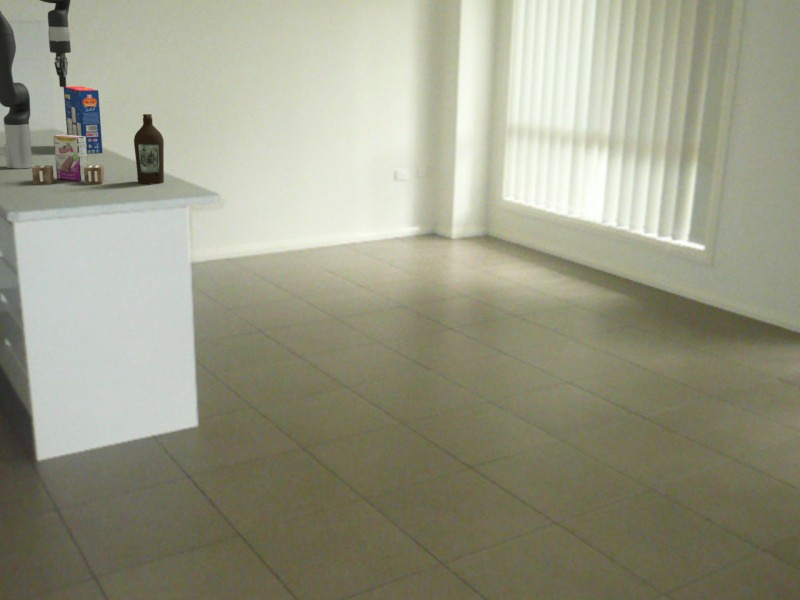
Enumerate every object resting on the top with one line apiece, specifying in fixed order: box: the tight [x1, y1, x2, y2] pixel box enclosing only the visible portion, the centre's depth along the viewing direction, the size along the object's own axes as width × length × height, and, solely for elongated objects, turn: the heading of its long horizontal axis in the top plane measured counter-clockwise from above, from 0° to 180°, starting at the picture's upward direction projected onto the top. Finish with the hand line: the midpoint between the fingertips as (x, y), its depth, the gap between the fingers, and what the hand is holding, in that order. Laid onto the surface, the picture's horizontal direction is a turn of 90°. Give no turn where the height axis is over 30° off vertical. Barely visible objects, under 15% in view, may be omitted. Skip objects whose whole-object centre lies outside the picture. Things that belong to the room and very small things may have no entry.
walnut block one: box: [31, 165, 55, 185], centre depth 334 cm, size 6×6×6 cm
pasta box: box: [63, 86, 104, 155], centre depth 421 cm, size 28×8×28 cm, turn 34°
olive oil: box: [133, 113, 165, 185], centre depth 338 cm, size 11×11×25 cm
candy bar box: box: [53, 134, 89, 182], centre depth 340 cm, size 11×5×16 cm, turn 71°
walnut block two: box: [84, 165, 105, 185], centre depth 337 cm, size 6×6×6 cm
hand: (63, 86), depth 348 cm, fingers closed
